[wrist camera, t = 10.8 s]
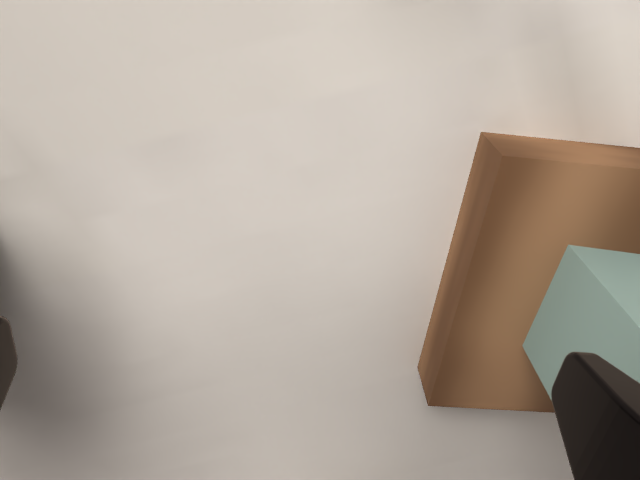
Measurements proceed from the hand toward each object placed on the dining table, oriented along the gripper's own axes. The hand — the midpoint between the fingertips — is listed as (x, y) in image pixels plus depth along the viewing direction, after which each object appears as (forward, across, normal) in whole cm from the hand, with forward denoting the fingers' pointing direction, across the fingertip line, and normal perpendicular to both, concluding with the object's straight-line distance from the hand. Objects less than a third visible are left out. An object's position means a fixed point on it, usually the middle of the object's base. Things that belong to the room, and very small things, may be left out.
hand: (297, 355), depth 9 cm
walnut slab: (+14, -13, +6) cm, 20 cm away
